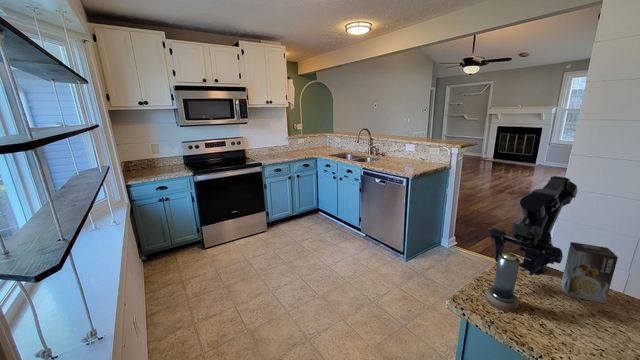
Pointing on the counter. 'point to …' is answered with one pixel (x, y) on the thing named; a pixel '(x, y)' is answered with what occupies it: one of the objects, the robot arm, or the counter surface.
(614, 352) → the counter surface
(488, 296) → the stand
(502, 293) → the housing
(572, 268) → the coffee box
